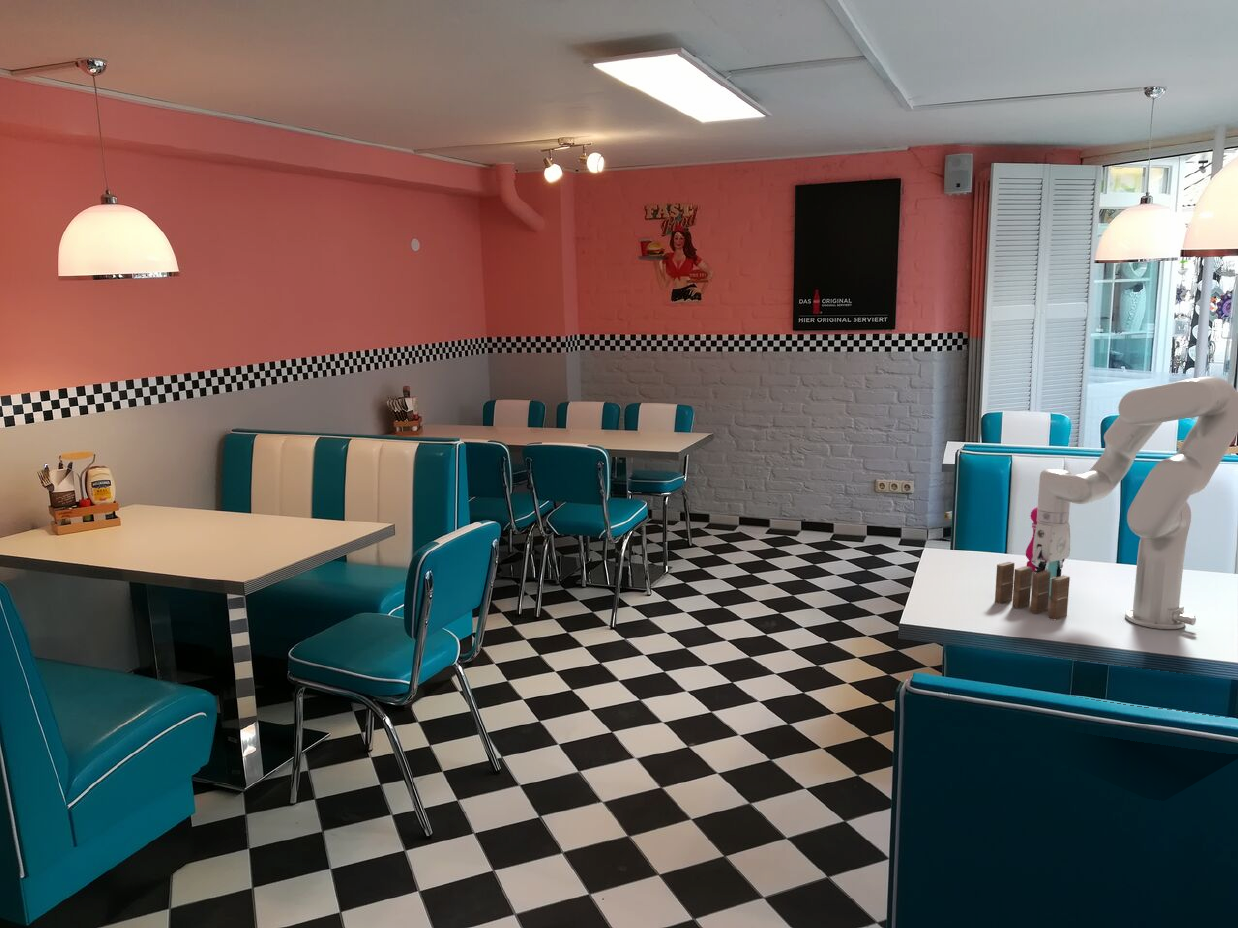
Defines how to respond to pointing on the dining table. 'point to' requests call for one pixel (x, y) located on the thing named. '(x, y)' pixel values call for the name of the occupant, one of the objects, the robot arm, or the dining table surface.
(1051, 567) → the domino
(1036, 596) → the domino
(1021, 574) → the domino
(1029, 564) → the pepper mill
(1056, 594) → the domino
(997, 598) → the domino
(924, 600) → the dining table surface
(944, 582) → the dining table surface
